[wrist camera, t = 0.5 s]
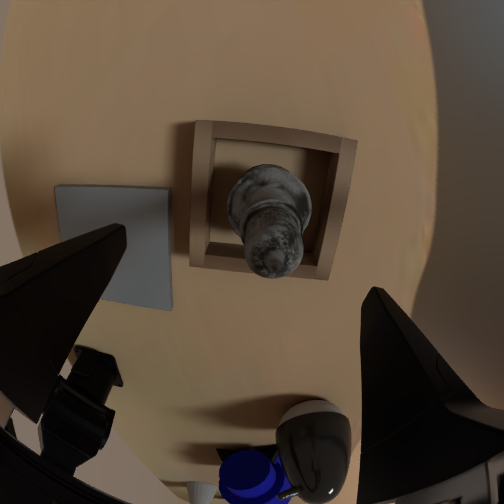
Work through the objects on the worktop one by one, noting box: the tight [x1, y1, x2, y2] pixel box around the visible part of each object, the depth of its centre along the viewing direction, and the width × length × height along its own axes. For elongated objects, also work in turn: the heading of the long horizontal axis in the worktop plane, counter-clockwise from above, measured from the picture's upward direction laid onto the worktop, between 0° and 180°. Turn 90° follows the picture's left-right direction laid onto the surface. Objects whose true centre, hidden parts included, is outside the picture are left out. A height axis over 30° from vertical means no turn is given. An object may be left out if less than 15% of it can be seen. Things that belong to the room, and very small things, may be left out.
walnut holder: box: [189, 120, 358, 280], centre depth 21 cm, size 11×11×2 cm
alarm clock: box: [216, 445, 291, 504], centre depth 36 cm, size 12×12×15 cm
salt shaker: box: [227, 164, 312, 278], centre depth 17 cm, size 6×6×12 cm
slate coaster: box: [55, 185, 173, 311], centre depth 25 cm, size 12×12×1 cm
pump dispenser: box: [275, 400, 351, 504], centre depth 29 cm, size 10×10×15 cm
